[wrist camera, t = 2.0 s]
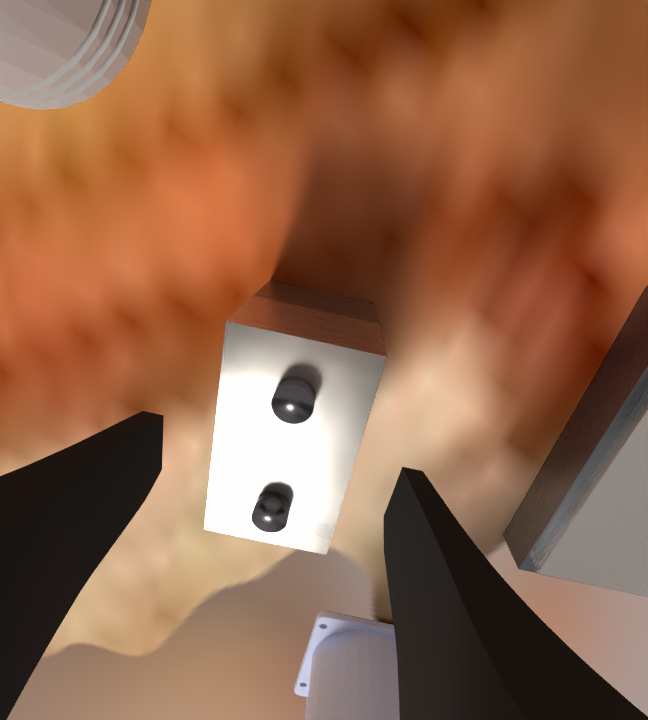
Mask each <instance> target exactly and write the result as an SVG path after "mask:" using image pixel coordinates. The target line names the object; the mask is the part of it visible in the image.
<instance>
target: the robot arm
mask: <svg viewBox="0 0 648 720" xmlns="http://www.w3.org/2000/svg"><path fill="white" fill-rule="evenodd" d="M162 446H163V415H159V414H154V413H149V412H145V411H142V412H140V413H138V414H136V415H133V416H131V417H129V418H127V419H125V420H123V421H121V422H119V423H117V424H115V425H113V426H111V427H109V428H107V429H105V430H103V431H101V432H99V433H97V434H95V435H93V436H91V437H89V438H87V439H85V440H83V441H81V442H79V443H76V444H74V445H72V446H70V447H68V448H66V449H63V450H61V451H59V452H57V453H54V454H52V455H50V456H48V457H45V458H43V459H41V460H39V461H36V462H34V463H32V464H29V465H27V466H25V467H22V468H20V469H17V470H15V471H12V472H10V473H7V474H5V475H2V476H0V720H6V719H7V718H8V716H9V714H10V712H11V710H12V708H13V707H14V705H15V703H16V701H17V699H18V698H19V696H20V694H21V692H22V690H23V689H24V687H25V685H26V683H27V681H28V679H29V678H30V676H31V674H32V672H33V671H34V669H35V667H36V666H37V663H38V662H39V660H40V659H41V657H42V655H43V653H44V652H45V650H46V648H47V646H48V645H49V643H50V641H51V639H52V638H53V636H54V634H55V633H56V631H57V629H58V628H59V626H60V624H61V623H62V621H63V619H64V618H65V616H66V614H67V613H68V611H69V609H70V608H71V606H72V604H73V603H74V601H75V599H76V598H77V596H78V594H79V593H80V591H81V590H82V588H83V587H84V585H85V584H86V582H87V581H88V579H89V578H90V576H91V575H92V573H93V572H94V570H95V569H96V568H97V566H98V565H99V564H100V562H101V561H102V559H103V558H104V557H105V555H106V554H107V553H108V551H109V550H110V548H111V547H112V546H113V544H114V543H115V542H116V540H117V539H118V537H119V536H120V535H121V533H122V532H123V530H124V529H125V528H126V526H127V525H128V524H129V522H130V521H131V519H132V518H133V517H134V515H135V514H136V512H137V511H138V510H139V508H140V507H141V505H142V504H143V502H144V501H145V499H146V498H147V496H148V494H149V492H150V490H151V489H152V487H153V485H154V483H155V481H156V479H157V478H158V476H159V474H160V472H161V470H162ZM384 554H385V563H386V571H387V579H388V586H389V594H390V601H391V609H392V616H393V624H394V625H392V624H387V623H382V622H377V621H372V620H368V619H363V618H357V617H353V616H348V615H343V614H339V613H333V612H329V611H321V612H319V613H318V615H317V618H316V621H315V625H314V627H313V630H312V633H311V637H310V640H309V643H308V646H307V649H306V652H305V655H304V658H303V661H302V664H301V668H300V670H299V674H298V676H297V680H296V683H295V687H294V692H295V693H296V694H297V695H300V696H305V697H307V704H306V717H305V720H648V717H647V716H646V715H645V714H644V713H642V712H641V711H640V710H639V709H638V708H636V707H635V706H634V705H633V704H632V703H631V702H629V701H628V700H627V699H626V698H625V697H624V696H622V695H621V694H620V693H619V692H618V691H617V690H615V688H613V687H612V686H611V685H610V684H609V683H607V681H605V680H604V679H603V678H602V677H601V676H600V675H599V674H597V673H596V672H595V671H594V670H593V669H592V668H591V667H590V666H589V665H588V664H586V663H585V662H584V661H583V660H582V659H581V658H580V657H579V656H578V655H577V654H576V653H574V651H573V650H571V649H570V648H569V647H568V646H567V645H566V644H565V643H564V642H563V641H562V640H561V639H560V638H559V637H558V636H557V635H556V634H555V633H554V632H553V631H552V630H551V629H550V628H549V627H548V626H547V625H546V624H545V623H544V622H543V621H542V620H541V619H540V618H539V617H538V616H537V615H536V614H535V613H534V612H533V611H532V610H531V609H530V608H529V607H528V606H527V605H526V603H525V602H524V601H523V600H522V599H521V598H520V597H519V596H518V595H517V594H516V593H515V591H514V590H513V589H512V588H511V587H510V586H509V585H508V584H507V583H506V581H505V580H504V579H503V578H502V577H501V576H500V575H499V573H498V572H497V571H496V570H495V569H494V568H493V566H492V565H491V564H490V563H489V561H488V560H487V559H486V558H485V556H484V555H483V554H482V553H481V551H480V550H479V549H478V548H477V546H476V545H475V544H474V542H473V541H472V540H471V539H470V537H469V536H468V535H467V533H466V532H465V531H464V529H463V528H462V527H461V525H460V524H459V522H458V521H457V520H456V518H455V517H454V516H453V514H452V513H451V511H450V510H449V508H448V507H447V506H446V504H445V503H444V501H443V500H442V498H441V497H440V495H439V494H438V493H437V491H436V490H435V488H434V487H433V485H432V484H431V482H430V481H429V479H428V478H427V477H426V475H425V474H424V472H423V471H419V470H414V469H410V468H405V467H402V470H401V472H400V475H399V478H398V480H397V483H396V486H395V488H394V491H393V494H392V496H391V499H390V501H389V504H388V507H387V509H386V512H385V515H384Z"/></svg>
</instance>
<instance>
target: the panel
mask: <svg viewBox="0 0 648 720" xmlns="http://www.w3.org/2000/svg"><path fill="white" fill-rule="evenodd" d="M503 536H504V538H505V541H506V543H507V545H508V547H509V549H510V551H511V554H512V556H513V558H514V560H515V562H516V564H517V567H518V569H521V570H526V571H531V572H536V573H537V574H541V575H546V576H550V577H555V578H560V579H565V580H570V581H574V582H579V583H584V584H588V585H593V586H598V587H603V588H607V589H612V590H617V591H621V592H626V593H631V594H635V595H640V596H645V597H648V288H646V289H645V290H644V292H643V294H642V296H641V297H640V299H639V301H638V303H637V304H636V306H635V308H634V310H633V311H632V313H631V315H630V316H629V318H628V320H627V322H626V323H625V325H624V327H623V329H622V330H621V332H620V334H619V335H618V337H617V339H616V341H615V342H614V344H613V346H612V348H611V349H610V351H609V353H608V355H607V356H606V358H605V360H604V361H603V363H602V365H601V367H600V368H599V370H598V372H597V374H596V375H595V377H594V379H593V381H592V382H591V384H590V386H589V387H588V389H587V391H586V393H585V394H584V396H583V398H582V400H581V401H580V403H579V405H578V406H577V408H576V410H575V412H574V413H573V415H572V417H571V419H570V420H569V422H568V424H567V426H566V427H565V429H564V431H563V432H562V434H561V436H560V438H559V439H558V441H557V443H556V445H555V446H554V448H553V450H552V452H551V453H550V455H549V457H548V458H547V460H546V462H545V464H544V465H543V467H542V469H541V471H540V472H539V474H538V476H537V477H536V479H535V481H534V483H533V484H532V486H531V488H530V490H529V491H528V493H527V495H526V497H525V498H524V500H523V502H522V503H521V505H520V507H519V509H518V510H517V512H516V514H515V516H514V517H513V519H512V521H511V523H510V524H509V526H508V528H507V529H506V531H505V533H504V535H503Z"/></svg>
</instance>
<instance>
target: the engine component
mask: <svg viewBox="0 0 648 720" xmlns="http://www.w3.org/2000/svg"><path fill="white" fill-rule="evenodd" d="M150 3H151V0H0V101H1V102H4V103H8V104H12V105H16V106H19V107H23V108H31V109H39V110H46V109H55V108H65V107H69V106H72V105H74V104H77V103H80V102H82V101H85V100H87V99H90V98H92V97H93V96H94V95H96V94H97V93H98V92H100V91H101V90H102V89H104V88H105V87H106V86H108V85H109V84H110V83H112V81H113V80H114V79H115V77H116V76H117V75H118V74H119V72H120V71H121V70H122V69H123V67H124V66H125V65H126V64H127V62H128V61H129V60H130V57H131V55H132V53H133V51H134V49H135V47H136V45H137V43H138V41H139V39H140V37H141V35H142V33H143V29H144V25H145V22H146V18H147V14H148V10H149V6H150Z"/></svg>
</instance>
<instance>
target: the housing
mask: <svg viewBox="0 0 648 720" xmlns="http://www.w3.org/2000/svg"><path fill="white" fill-rule="evenodd" d="M386 359H387V354H386V350H385V346H384V342H383V338H382V333H381V329H380V325H379V321H378V317H377V313H376V309H375V305H374V303H371V302H366V301H362V300H357V299H353V298H348V297H344V296H340V295H335V294H331V293H326V292H322V291H317V290H313V289H309V288H304V287H300V286H295V285H291V284H286V283H282V282H277V281H273V280H270V281H269V282H268V283H267V284H265V285H264V286H263V287H262V288H261V289H260V290H259V291H258V292H257V293H256V294H255V295H254V296H252V297H251V298H250V299H249V300H248V301H247V302H246V303H245V304H244V305H243V306H242V307H241V308H239V309H238V310H237V311H236V312H235V313H234V314H233V315H232V316H231V317H230V318H229V319H228V320H226V326H225V336H224V345H223V355H222V364H221V374H220V383H219V393H218V403H217V412H216V422H215V431H214V441H213V450H212V460H211V469H210V479H209V489H208V498H207V508H206V517H205V527H204V529H206V530H211V531H215V532H220V533H225V534H230V535H234V536H239V537H244V538H249V539H253V540H258V541H263V542H268V543H272V544H277V545H282V546H287V547H292V548H296V549H301V550H306V551H311V552H315V553H321V554H325V555H326V554H327V551H328V547H329V544H330V541H331V538H332V534H333V531H334V528H335V525H336V521H337V518H338V515H339V512H340V508H341V505H342V502H343V499H344V495H345V492H346V489H347V486H348V482H349V479H350V476H351V473H352V469H353V466H354V463H355V460H356V456H357V453H358V450H359V447H360V443H361V440H362V437H363V434H364V430H365V427H366V424H367V421H368V417H369V414H370V411H371V408H372V404H373V401H374V398H375V395H376V391H377V388H378V385H379V382H380V378H381V375H382V372H383V369H384V365H385V362H386Z"/></svg>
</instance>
